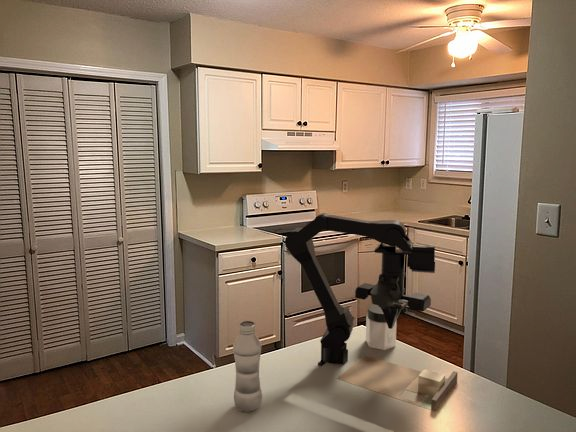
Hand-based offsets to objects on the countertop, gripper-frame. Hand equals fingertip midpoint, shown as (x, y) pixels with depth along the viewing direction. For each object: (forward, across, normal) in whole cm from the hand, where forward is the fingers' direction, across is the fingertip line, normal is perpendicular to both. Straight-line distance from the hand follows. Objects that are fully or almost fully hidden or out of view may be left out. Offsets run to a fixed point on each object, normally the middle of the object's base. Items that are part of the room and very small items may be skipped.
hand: (390, 328), depth 123 cm
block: (+10, +13, -6) cm, 18 cm away
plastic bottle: (+12, -19, -35) cm, 42 cm away
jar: (+12, -8, +12) cm, 19 cm away
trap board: (+12, +4, -6) cm, 14 cm away
